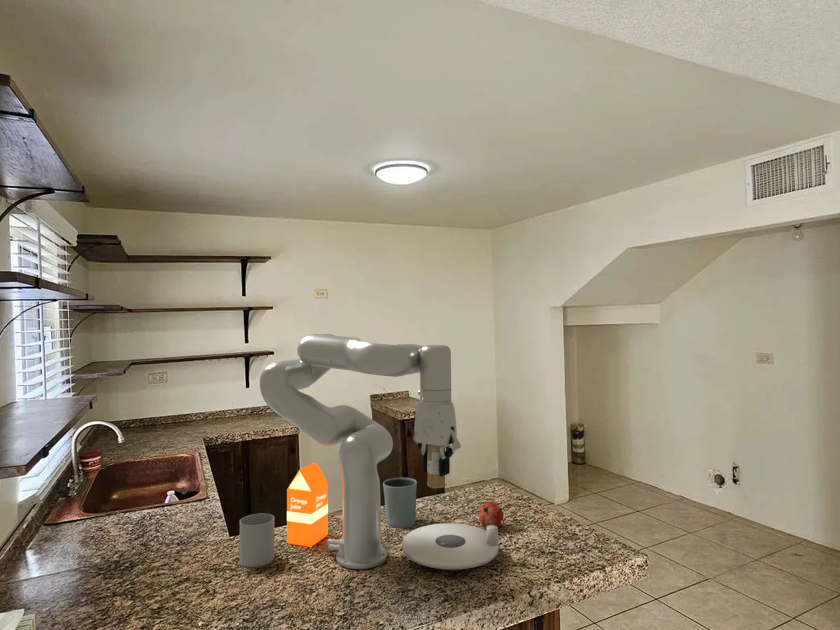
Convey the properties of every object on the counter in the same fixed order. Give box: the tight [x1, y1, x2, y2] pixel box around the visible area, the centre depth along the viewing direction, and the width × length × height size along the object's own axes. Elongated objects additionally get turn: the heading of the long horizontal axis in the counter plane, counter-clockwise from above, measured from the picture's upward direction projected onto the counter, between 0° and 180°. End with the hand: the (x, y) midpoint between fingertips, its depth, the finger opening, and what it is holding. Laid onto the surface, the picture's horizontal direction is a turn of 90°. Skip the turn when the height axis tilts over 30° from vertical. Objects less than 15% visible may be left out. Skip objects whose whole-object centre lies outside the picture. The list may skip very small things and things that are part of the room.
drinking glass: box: [382, 477, 418, 529], centre depth 153 cm, size 10×10×12 cm
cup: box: [239, 513, 275, 568], centre depth 128 cm, size 8×8×10 cm
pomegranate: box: [478, 501, 505, 528], centre depth 148 cm, size 7×7×10 cm
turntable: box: [402, 522, 499, 570], centre depth 129 cm, size 24×24×8 cm
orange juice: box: [286, 461, 329, 548], centre depth 141 cm, size 8×9×20 cm
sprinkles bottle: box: [426, 445, 447, 489], centre depth 123 cm, size 5×5×14 cm
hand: (436, 471), depth 123 cm, fingers closed on sprinkles bottle, 4 cm apart
